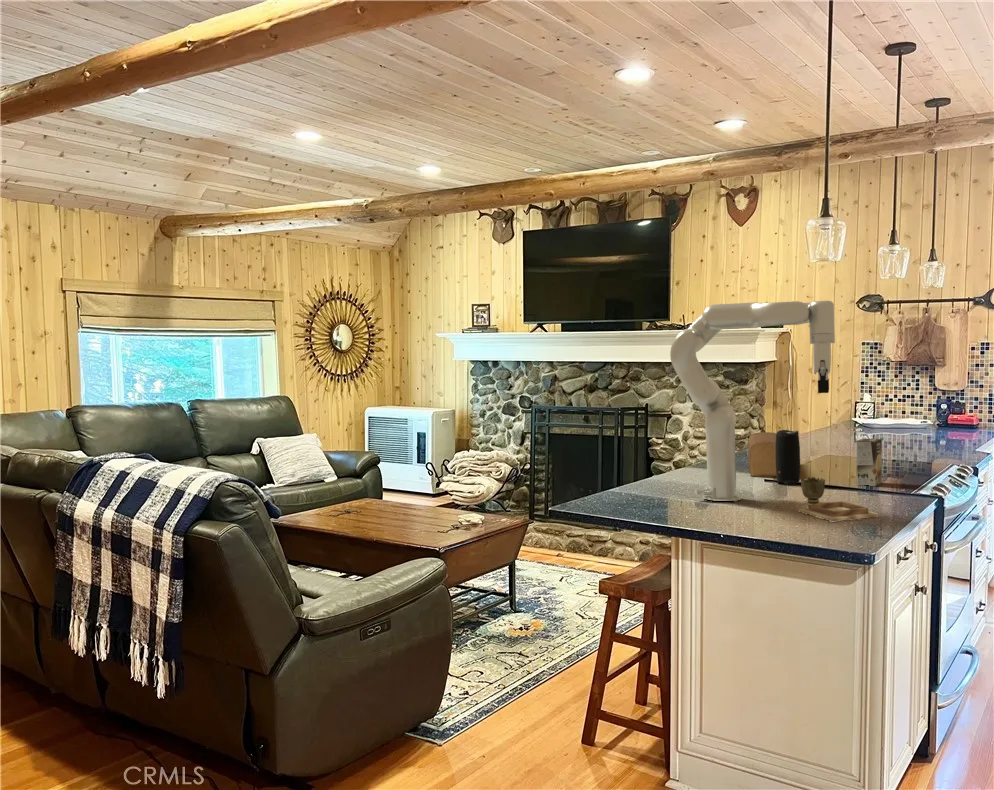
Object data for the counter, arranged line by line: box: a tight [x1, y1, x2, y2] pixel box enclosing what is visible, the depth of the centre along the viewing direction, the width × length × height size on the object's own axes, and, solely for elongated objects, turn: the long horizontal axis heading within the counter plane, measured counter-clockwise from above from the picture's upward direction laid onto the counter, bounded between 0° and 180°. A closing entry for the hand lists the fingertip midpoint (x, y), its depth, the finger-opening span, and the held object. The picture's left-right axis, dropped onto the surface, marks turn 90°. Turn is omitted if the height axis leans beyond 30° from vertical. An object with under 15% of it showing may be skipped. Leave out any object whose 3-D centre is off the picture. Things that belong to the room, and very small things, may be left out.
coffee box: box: [856, 438, 883, 487], centre depth 292 cm, size 9×6×16 cm
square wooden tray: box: [798, 500, 880, 521], centre depth 247 cm, size 16×16×2 cm
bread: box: [747, 431, 777, 478], centre depth 331 cm, size 14×34×14 cm, turn 164°
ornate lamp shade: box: [800, 476, 826, 504], centre depth 264 cm, size 8×7×8 cm
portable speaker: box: [775, 429, 801, 486], centre depth 299 cm, size 9×9×20 cm
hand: (823, 391), depth 264 cm, fingers open, 9 cm apart
